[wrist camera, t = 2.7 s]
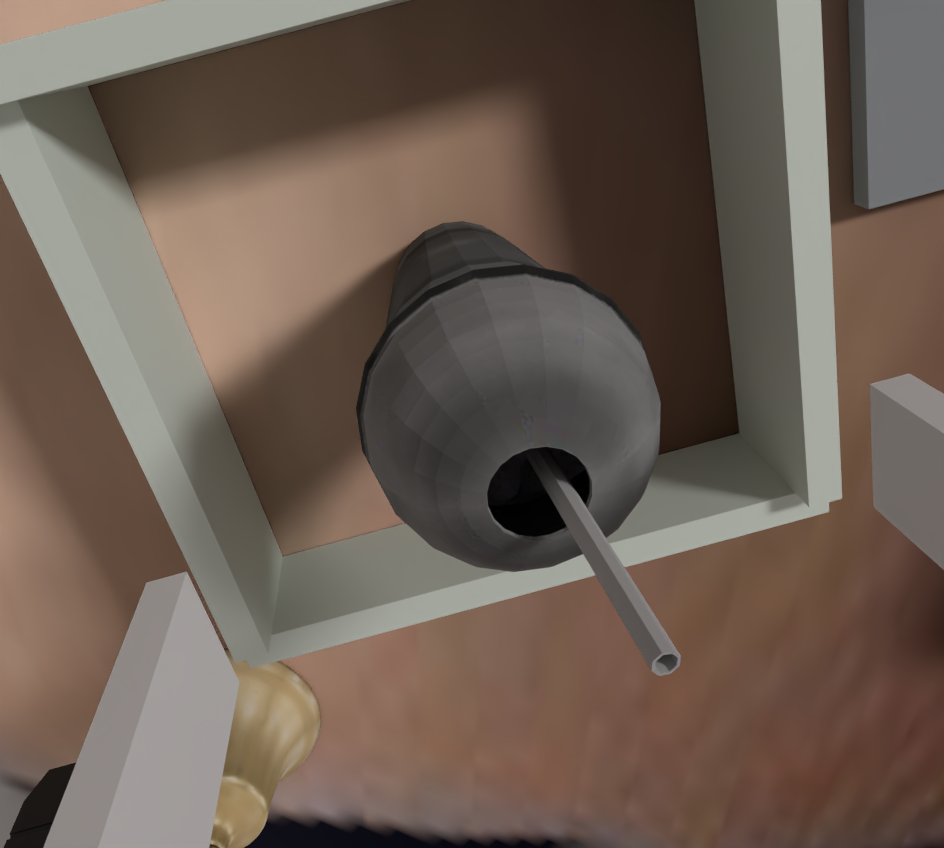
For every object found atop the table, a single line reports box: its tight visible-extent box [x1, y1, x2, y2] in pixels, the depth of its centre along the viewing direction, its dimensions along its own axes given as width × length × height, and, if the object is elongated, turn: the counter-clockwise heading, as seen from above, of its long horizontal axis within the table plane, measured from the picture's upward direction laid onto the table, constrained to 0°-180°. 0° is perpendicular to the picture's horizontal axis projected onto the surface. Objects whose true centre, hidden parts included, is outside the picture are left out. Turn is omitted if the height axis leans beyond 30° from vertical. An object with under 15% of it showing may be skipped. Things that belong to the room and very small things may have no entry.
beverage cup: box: [356, 221, 681, 676], centre depth 22 cm, size 7×7×20 cm
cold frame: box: [0, 0, 842, 669], centre depth 27 cm, size 21×22×7 cm
